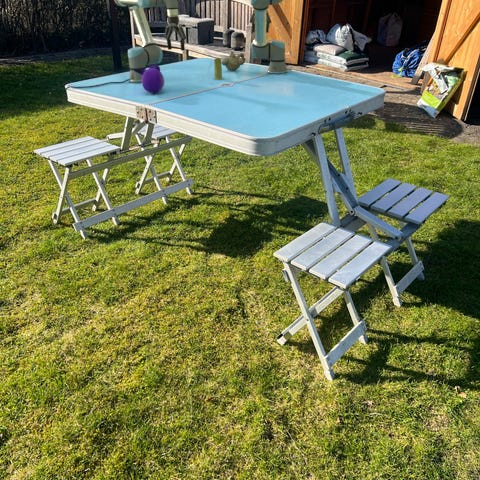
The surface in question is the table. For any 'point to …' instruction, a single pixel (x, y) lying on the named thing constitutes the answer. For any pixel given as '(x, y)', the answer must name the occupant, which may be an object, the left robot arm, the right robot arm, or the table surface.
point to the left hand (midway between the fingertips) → (176, 50)
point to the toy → (152, 79)
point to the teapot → (233, 61)
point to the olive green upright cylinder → (218, 68)
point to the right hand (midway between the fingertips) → (260, 32)
